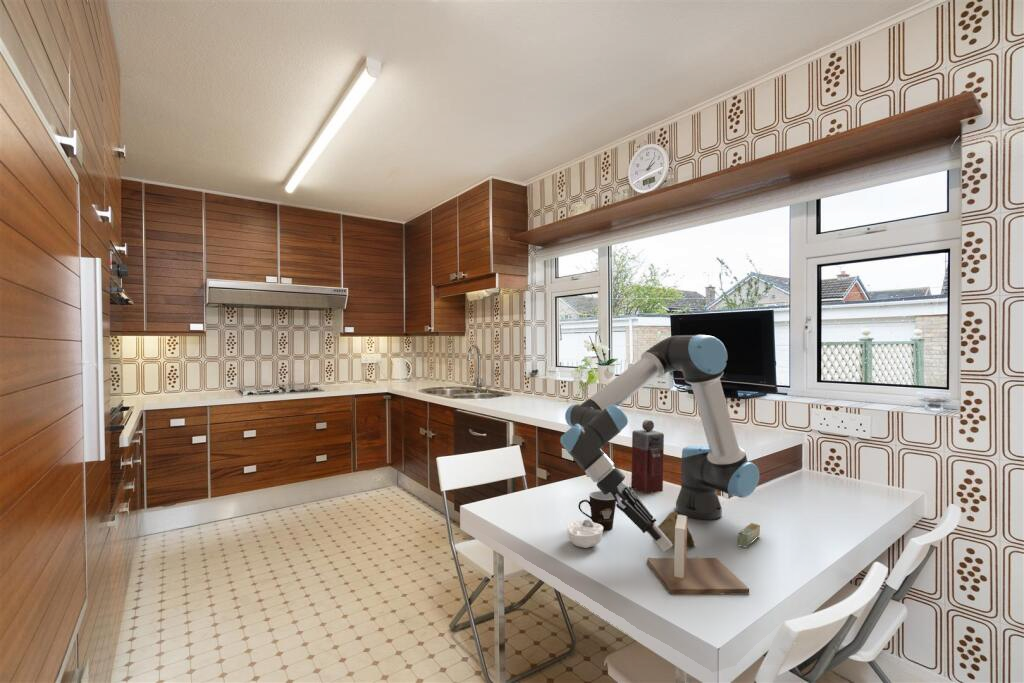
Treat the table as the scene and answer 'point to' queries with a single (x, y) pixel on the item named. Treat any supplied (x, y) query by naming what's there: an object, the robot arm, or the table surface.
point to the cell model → (585, 533)
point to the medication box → (748, 534)
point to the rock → (669, 529)
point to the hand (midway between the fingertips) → (668, 547)
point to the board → (697, 577)
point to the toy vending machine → (647, 459)
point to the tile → (680, 546)
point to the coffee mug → (601, 509)
